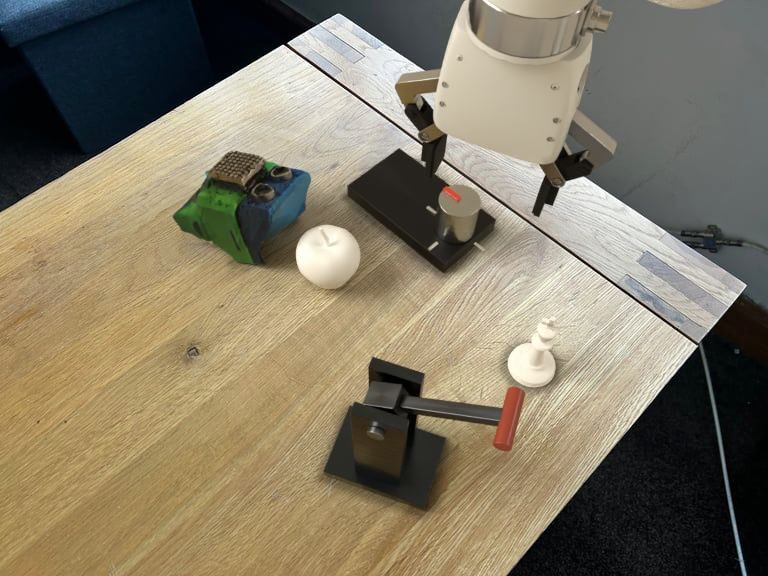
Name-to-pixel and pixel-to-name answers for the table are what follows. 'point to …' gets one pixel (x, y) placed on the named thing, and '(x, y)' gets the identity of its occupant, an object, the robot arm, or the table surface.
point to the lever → (451, 409)
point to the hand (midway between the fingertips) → (486, 185)
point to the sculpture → (244, 204)
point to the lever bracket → (387, 445)
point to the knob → (457, 214)
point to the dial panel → (412, 208)
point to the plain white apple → (328, 256)
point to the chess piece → (535, 356)
